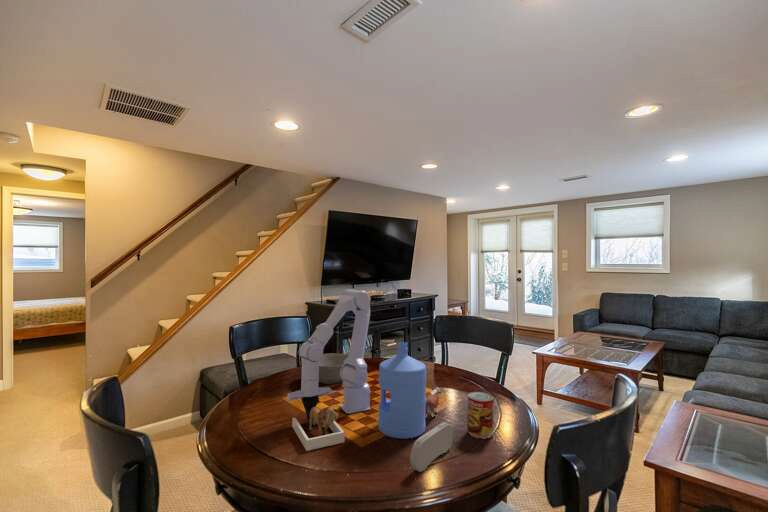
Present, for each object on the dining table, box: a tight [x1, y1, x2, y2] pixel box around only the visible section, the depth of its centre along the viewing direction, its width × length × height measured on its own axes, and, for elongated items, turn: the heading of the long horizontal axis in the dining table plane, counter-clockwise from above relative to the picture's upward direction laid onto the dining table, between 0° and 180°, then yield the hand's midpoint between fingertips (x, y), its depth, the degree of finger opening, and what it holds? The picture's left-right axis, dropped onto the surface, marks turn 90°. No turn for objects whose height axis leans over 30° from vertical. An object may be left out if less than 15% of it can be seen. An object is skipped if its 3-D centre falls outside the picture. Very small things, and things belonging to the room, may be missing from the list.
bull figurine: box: [425, 387, 443, 419], centre depth 130 cm, size 4×13×8 cm, turn 155°
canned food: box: [467, 391, 494, 435], centre depth 116 cm, size 8×8×12 cm
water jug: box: [377, 341, 427, 440], centre depth 119 cm, size 16×16×28 cm
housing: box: [292, 417, 346, 452], centre depth 113 cm, size 12×17×3 cm
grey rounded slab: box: [409, 421, 454, 473], centre depth 100 cm, size 20×2×8 cm, turn 141°
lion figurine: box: [305, 406, 339, 437], centre depth 116 cm, size 15×5×9 cm, turn 48°
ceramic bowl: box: [319, 352, 349, 385], centre depth 165 cm, size 22×23×10 cm
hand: (309, 418), depth 121 cm, fingers closed, pressing on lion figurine
